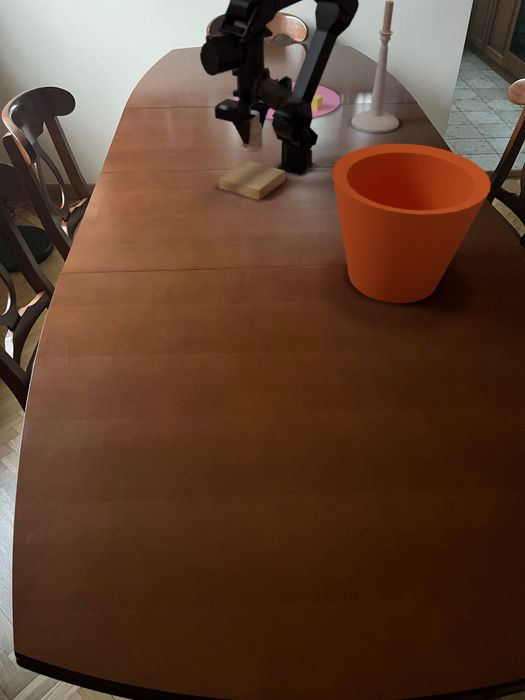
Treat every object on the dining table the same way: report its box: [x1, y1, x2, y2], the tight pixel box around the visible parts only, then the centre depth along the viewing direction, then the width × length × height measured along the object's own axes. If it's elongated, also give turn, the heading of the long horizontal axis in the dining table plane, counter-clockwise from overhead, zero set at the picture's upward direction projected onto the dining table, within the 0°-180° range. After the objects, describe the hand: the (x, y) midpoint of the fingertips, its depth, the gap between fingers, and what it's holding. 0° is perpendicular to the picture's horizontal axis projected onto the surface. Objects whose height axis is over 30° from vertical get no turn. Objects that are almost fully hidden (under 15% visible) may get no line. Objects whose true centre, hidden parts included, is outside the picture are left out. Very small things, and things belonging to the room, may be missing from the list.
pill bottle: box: [241, 110, 263, 153], centre depth 127 cm, size 4×4×8 cm
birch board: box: [218, 159, 286, 201], centre depth 135 cm, size 11×11×2 cm
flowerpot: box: [332, 143, 492, 304], centre depth 102 cm, size 25×25×20 cm
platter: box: [233, 81, 341, 120], centre depth 175 cm, size 32×32×3 cm
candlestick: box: [351, 0, 400, 134], centre depth 152 cm, size 13×13×30 cm
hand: (252, 139), depth 129 cm, fingers closed on pill bottle, 4 cm apart
